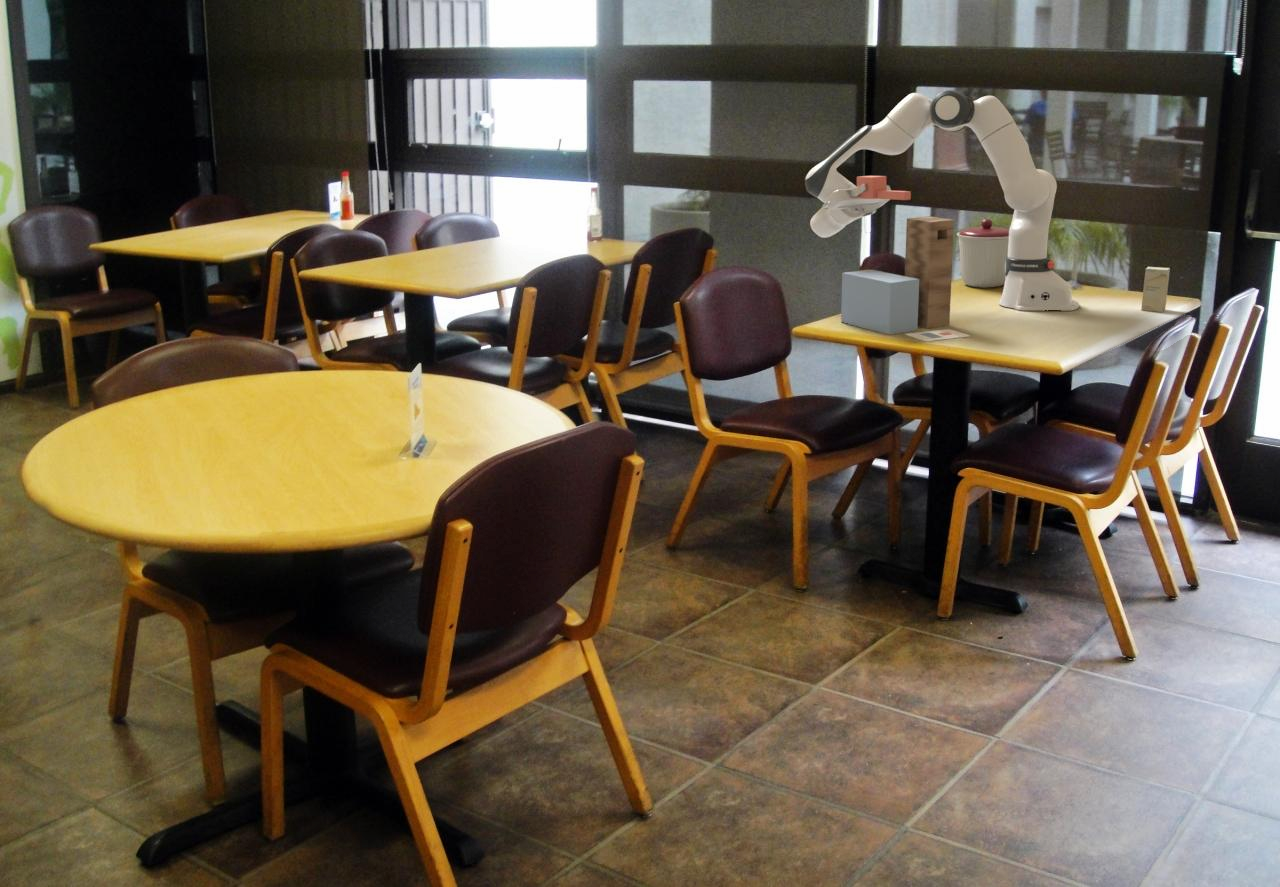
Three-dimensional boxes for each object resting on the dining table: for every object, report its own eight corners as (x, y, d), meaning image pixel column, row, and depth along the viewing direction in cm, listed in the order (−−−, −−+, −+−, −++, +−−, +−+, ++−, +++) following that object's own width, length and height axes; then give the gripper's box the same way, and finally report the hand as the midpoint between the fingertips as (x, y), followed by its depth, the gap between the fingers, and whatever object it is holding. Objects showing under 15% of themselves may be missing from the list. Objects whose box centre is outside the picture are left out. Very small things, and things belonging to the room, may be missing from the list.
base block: (841, 322, 386) (842, 272, 382) (868, 318, 391) (870, 269, 387) (888, 334, 369) (890, 282, 365) (917, 330, 374) (919, 279, 370)
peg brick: (856, 198, 393) (856, 176, 392) (870, 196, 396) (870, 175, 394) (900, 200, 377) (900, 178, 376) (914, 199, 380) (914, 177, 378)
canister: (1014, 290, 428) (1018, 222, 422) (955, 289, 432) (958, 222, 426) (1011, 280, 445) (1015, 215, 439) (954, 280, 449) (957, 215, 443)
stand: (903, 322, 384) (906, 218, 376) (924, 319, 388) (929, 216, 379) (927, 328, 375) (931, 222, 367) (949, 325, 379) (954, 219, 371)
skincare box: (1140, 310, 394) (1144, 268, 391) (1143, 307, 398) (1147, 266, 395) (1164, 312, 391) (1168, 269, 388) (1166, 309, 395) (1170, 267, 392)
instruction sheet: (904, 334, 368) (904, 333, 368) (948, 329, 374) (948, 328, 373) (925, 341, 360) (925, 340, 360) (970, 336, 365) (970, 335, 365)
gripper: (816, 198, 397) (842, 177, 385) (871, 193, 407) (899, 173, 395) (822, 218, 396) (849, 198, 384) (877, 213, 406) (905, 193, 394)
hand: (874, 185), depth 390 cm, fingers closed on peg brick, 5 cm apart
